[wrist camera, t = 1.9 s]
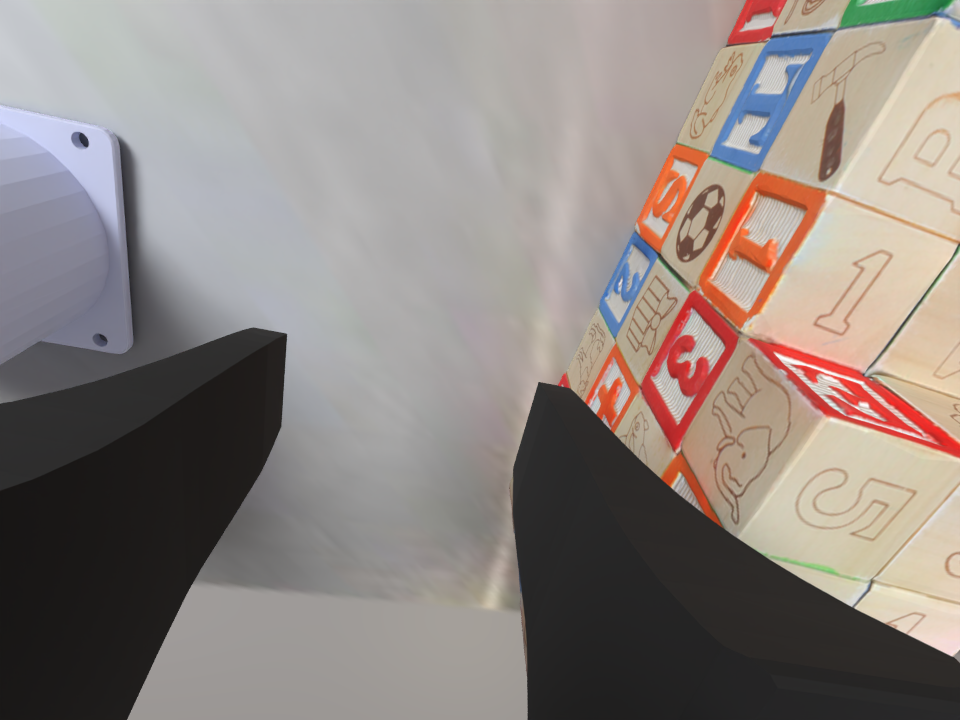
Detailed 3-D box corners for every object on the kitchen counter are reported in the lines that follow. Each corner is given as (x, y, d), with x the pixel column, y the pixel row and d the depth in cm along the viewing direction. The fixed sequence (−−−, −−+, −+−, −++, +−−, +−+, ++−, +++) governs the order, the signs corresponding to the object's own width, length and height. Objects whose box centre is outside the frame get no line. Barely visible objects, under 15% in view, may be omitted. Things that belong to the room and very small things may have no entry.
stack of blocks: (772, -77, 16) (1449, -426, 5) (948, 10, 17) (1839, -120, 6) (506, 486, 25) (536, 809, 14) (633, 520, 26) (753, 847, 15)
